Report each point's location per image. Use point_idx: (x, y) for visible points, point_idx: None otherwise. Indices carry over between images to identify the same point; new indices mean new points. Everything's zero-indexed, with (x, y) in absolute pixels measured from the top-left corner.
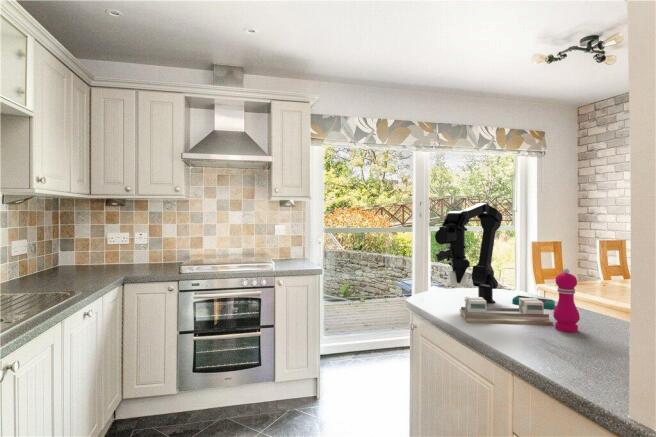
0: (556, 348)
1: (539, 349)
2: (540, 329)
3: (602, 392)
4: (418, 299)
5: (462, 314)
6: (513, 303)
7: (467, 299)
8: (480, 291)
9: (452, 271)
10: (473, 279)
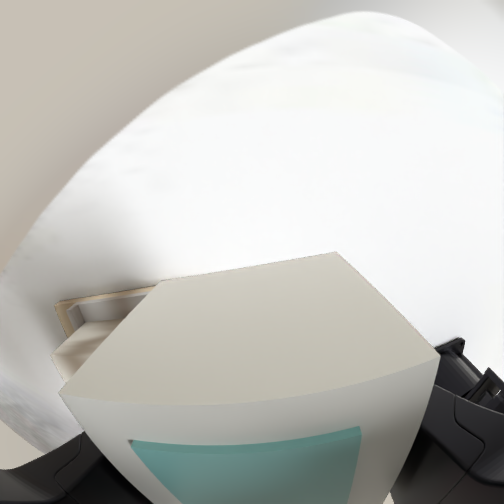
0: (32, 420)
1: (12, 396)
2: None
3: None
4: (414, 52)
5: (128, 292)
6: None
7: (75, 355)
8: (446, 388)
9: (241, 466)
10: (489, 401)
